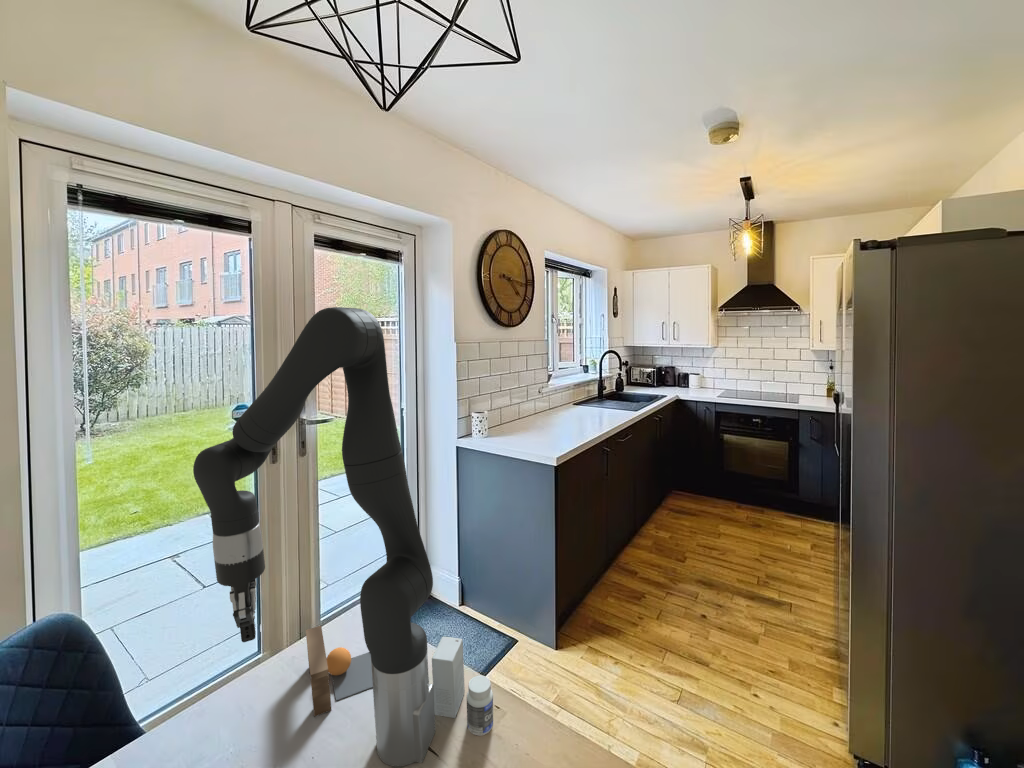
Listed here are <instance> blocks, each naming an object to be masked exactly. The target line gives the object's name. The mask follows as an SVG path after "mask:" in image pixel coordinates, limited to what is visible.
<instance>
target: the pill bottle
mask: <svg viewBox="0 0 1024 768" xmlns="http://www.w3.org/2000/svg"><path fill="white" fill-rule="evenodd" d="M493 694H494V693H493V690H492V685H491V680H490V678H488V677H487V676H485V675H476V676H473V677H472V678H471V679H470V680H469V682H468V691H467V692H466V725H467V729H468V731H469V732H470V733H471V734H473V735H475V736H485V735H486V734H488V733H490V732H491V730H492V728H493V726H494V695H493Z"/></svg>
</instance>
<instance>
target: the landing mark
mask: <svg viewBox="0 0 1024 768" xmlns="http://www.w3.org/2000/svg"><path fill="white" fill-rule="evenodd" d="M331 678H332V683H333V685H332V686H333V690H334V691H333V692H334V697H335V701H336V702H338V701H340V700H343V699H346V698H348V697H351V696H353V695H356V694H359V693H362V692H364V691H367V690H371V689H373V681H372V665H371V654H370V652H369V651H368V652H365V653H362V654H359V655H356V656H354V657H351V664H350V666H349V668H348V669H347V671H346V672H344V673H343V674H341V675H337V676H335V675H331Z"/></svg>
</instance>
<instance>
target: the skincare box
mask: <svg viewBox="0 0 1024 768" xmlns="http://www.w3.org/2000/svg"><path fill="white" fill-rule="evenodd" d="M463 640H464V639H463V638H457V637H453V636H452V637H451V636H442V637H441V638H440V641H439V643H438V644H437V646H436V649H435V651H434V654H433V656H432V658H431V669H432V671H431V673H432V684H433V686H434V708H435V716H440V717H441V716H442V717H446V718H452V719H456V717H457V714H458V712H459V709H460V706H461V703H462V701H463V699H464V695H465V693H466V692H465V691H466V690H465V688H466V687H465V668H464V666H465V664H464V663H465V662H464V642H463Z"/></svg>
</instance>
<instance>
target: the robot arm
mask: <svg viewBox="0 0 1024 768" xmlns="http://www.w3.org/2000/svg"><path fill="white" fill-rule="evenodd" d="M340 368H341V369H342V372H343V374H344V379H345V380H344V381H345V384H346V389H347V413H346V418H345V423H344V428H343V433H342V434H343V436H342V442H341V443H342V444H341V455H342V456H341V457H342V458H341V459H342V463H343V468H344V472H345V477H346V481H347V486H348V489H349V492H350V494H351V496H352V498H353V499H354V501H355V502H356V504H358V506H359V507H360V508H361V509H362V510H363V511H364V512H365V513H366V514H367V515H368V517H369V518H370V519H372V521H374V524H376V525H377V527H378V529H379V530H380V534H381V536H382V539H383V543H384V549H385V554H386V563H384V564H383V565H382V566H380V568H378V569H377V570H376V571H375V572H373V573H372V574H371V575H369V576H368V578H367V579H365V581H364V582H363V584H362V587H361V589H360V595H359V602H360V604H359V605H360V613H361V614H360V615H361V622H362V629H363V638H364V642H365V646H366V648H367V651H368V652H370V654H371V665H372V681H373V688H372V694H373V696H372V697H373V709H374V725H375V727H374V728H375V740H376V753H377V754H378V755H377V756H378V757H379V759H380V760H381V761H382V762H383V763H385V764H386V765H389V766H390V767H392V766H393V767H404V766H409V765H411V764H413V763H419V764H420V763H423V761H424V759H425V757H426V754H427V752H428V750H429V747H430V745H431V743H432V740H433V738H434V735H435V734H436V715H435V708H434V686H433V683H430V680H429V660H428V659H429V656H428V653H429V652H428V636H427V632H426V631H425V629H424V628H423V627H422V626H421V625H419V624H417V623H416V622H412V617H413V616H414V615H415V613H416V612H417V611H418V610H419V609H420V608H421V607H422V606H423V605H424V604H425V603H426V601H427V600H428V599H429V597H430V595H431V593H432V591H433V586H434V578H433V572H432V567H431V563H430V561H429V558H428V554H427V551H426V547H425V545H424V541H423V539H422V535H421V532H420V528H419V525H418V522H417V518H416V513H415V508H414V505H413V500H412V496H411V491H410V486H409V481H408V475H407V469H406V464H405V459H404V453H403V450H402V446H401V442H400V437H399V433H398V427H397V423H396V417H395V416H396V415H395V412H394V407H393V406H394V405H393V402H392V399H391V398H392V397H391V392H390V385H389V378H388V366H387V355H386V346H385V337H384V334H383V329H382V327H381V325H380V323H379V321H378V319H377V318H376V317H375V315H374V314H372V313H371V312H370V311H367V310H366V309H362V308H355V307H339V306H335V307H325V308H323V309H321V310H319V311H317V312H316V313H315V314H313V316H312V317H311V318H310V319H309V320H308V322H307V323H306V325H305V326H304V327H303V329H302V330H301V332H300V334H299V336H298V337H297V339H296V341H295V343H294V344H293V346H292V347H291V349H290V350H289V353H288V354H287V356H286V357H285V358H284V361H283V363H282V364H281V365H280V367H279V369H278V370H277V372H276V373H275V375H274V376H273V378H272V379H271V380H270V382H269V383H267V386H266V387H265V388H264V389H263V390H262V392H261V393H260V394H259V395H258V397H257V398H256V399H254V401H253V402H252V403H251V404H250V406H248V407H247V408H246V409H245V410H244V412H243V413H242V414H241V416H239V418H238V419H237V420H236V421H235V423H234V425H233V428H232V438H230V439H229V440H227V441H224V442H221V443H218V444H215V445H212V446H209V447H206V448H204V449H203V450H201V451H200V452H199V453H198V454H197V456H196V457H195V460H194V461H193V469H192V470H193V471H192V472H193V477H194V480H195V482H196V485H197V487H198V489H199V491H200V494H202V497H203V499H204V502H205V503H206V505H207V507H208V509H209V513H210V519H211V520H210V521H211V526H212V527H211V528H212V550H213V551H212V552H213V558H214V559H213V561H214V567H215V568H214V569H215V577H216V581H217V583H218V584H220V585H221V586H223V587H230V590H229V601H230V603H232V611H233V613H232V617H233V619H234V621H235V625H236V627H237V629H239V631H240V639H241V642H242V643H247V642H250V641H253V640H255V639H256V623H255V619H256V616H255V614H256V609H257V578H259V577H260V576H261V575H262V574H263V573H264V571H266V570H265V569H266V563H265V562H266V561H265V553H264V545H263V544H264V542H263V534H262V530H261V526H260V519H259V510H258V509H259V508H258V501H257V498H256V497H257V496H256V495H255V493H254V492H252V491H249V490H241V489H240V490H238V489H237V487H236V482H238V481H240V480H242V479H243V478H246V477H248V476H250V475H252V474H253V473H255V472H256V471H257V470H259V468H260V467H261V466H262V465H263V464H264V463H265V461H267V458H268V457H269V456H270V453H271V452H272V449H273V447H274V445H276V444H277V443H278V442H279V441H280V439H282V437H283V436H284V435H285V434H286V433H287V432H288V431H289V430H290V429H291V428H292V427H293V425H294V424H296V422H297V421H298V419H299V417H300V416H301V414H302V412H303V409H304V406H305V404H306V401H307V399H308V397H309V395H310V394H311V393H312V391H313V390H314V389H315V387H317V386H318V385H319V384H320V383H321V382H322V381H323V380H324V379H326V378H327V377H329V376H330V375H331V374H332V373H334V372H335V371H336V370H338V369H340Z"/></svg>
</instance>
